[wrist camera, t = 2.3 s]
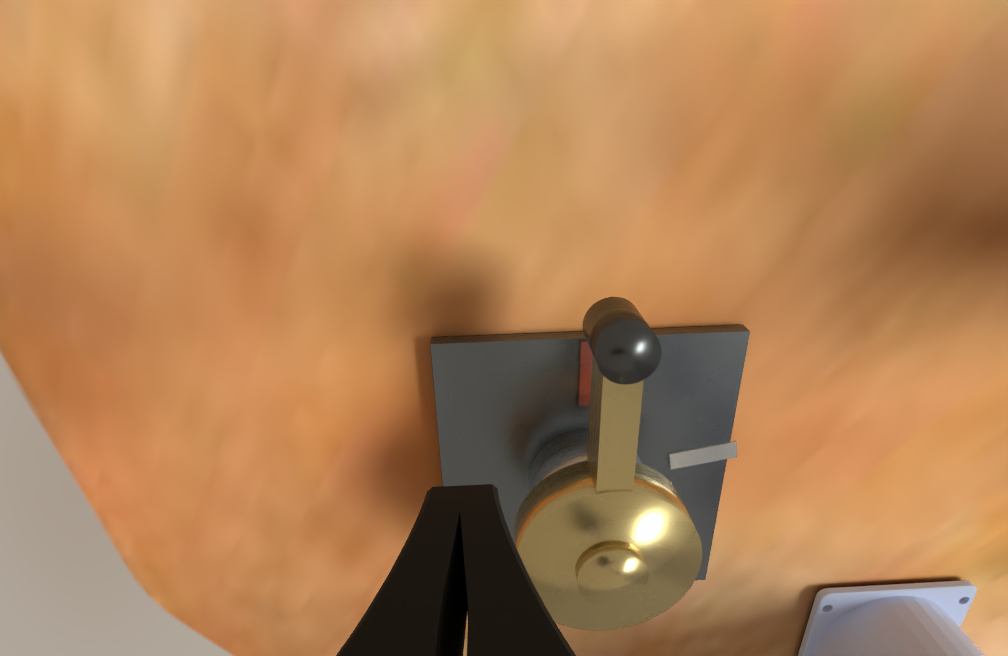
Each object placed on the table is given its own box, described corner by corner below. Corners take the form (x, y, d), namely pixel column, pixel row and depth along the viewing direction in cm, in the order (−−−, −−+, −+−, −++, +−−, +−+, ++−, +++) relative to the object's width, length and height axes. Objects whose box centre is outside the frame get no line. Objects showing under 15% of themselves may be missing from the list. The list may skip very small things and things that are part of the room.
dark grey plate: (707, 568, 26) (736, 628, 24) (452, 582, 26) (449, 645, 23) (752, 324, 21) (796, 363, 18) (431, 337, 21) (424, 379, 18)
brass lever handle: (673, 582, 22) (696, 640, 20) (514, 591, 22) (519, 650, 19) (716, 293, 17) (753, 326, 14) (508, 301, 17) (513, 336, 14)
